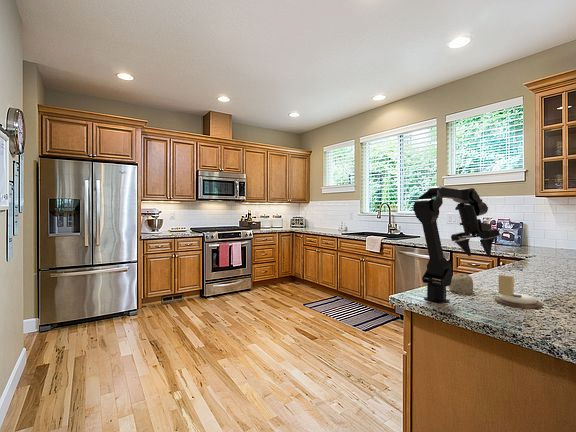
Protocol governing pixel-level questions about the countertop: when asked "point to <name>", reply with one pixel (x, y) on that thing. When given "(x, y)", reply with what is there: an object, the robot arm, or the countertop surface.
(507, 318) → the countertop surface
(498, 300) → the base
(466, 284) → the sponge
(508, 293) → the dial
